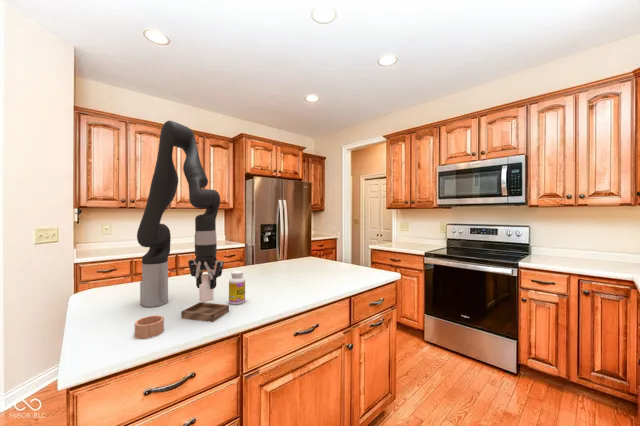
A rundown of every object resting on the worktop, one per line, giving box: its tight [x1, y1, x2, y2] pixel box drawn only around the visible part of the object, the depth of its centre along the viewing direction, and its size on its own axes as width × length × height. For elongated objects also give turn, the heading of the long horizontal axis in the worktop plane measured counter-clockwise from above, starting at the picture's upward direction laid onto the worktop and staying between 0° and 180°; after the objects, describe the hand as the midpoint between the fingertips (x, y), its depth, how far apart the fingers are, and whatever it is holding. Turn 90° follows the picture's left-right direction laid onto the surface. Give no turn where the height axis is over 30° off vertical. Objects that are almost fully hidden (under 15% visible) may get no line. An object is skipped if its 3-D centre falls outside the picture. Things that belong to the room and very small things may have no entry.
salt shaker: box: [198, 273, 214, 303], centre depth 101 cm, size 4×4×10 cm
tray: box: [180, 301, 230, 323], centre depth 101 cm, size 13×10×2 cm
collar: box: [134, 314, 165, 340], centre depth 86 cm, size 8×8×4 cm
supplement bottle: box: [228, 270, 246, 305], centre depth 114 cm, size 7×7×13 cm
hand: (206, 287), depth 101 cm, fingers closed on salt shaker, 5 cm apart
